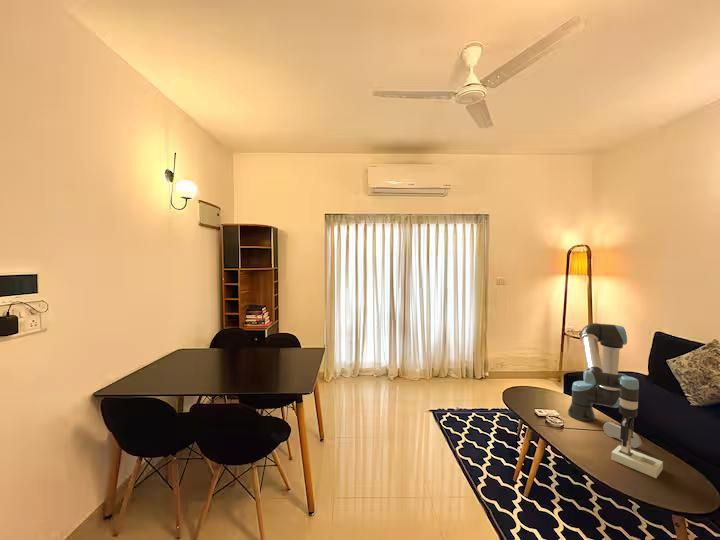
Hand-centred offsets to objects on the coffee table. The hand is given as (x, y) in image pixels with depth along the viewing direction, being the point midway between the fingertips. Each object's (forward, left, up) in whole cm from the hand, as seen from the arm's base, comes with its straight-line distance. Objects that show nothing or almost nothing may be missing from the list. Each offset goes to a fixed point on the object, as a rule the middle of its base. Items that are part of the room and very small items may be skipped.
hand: (625, 450), depth 173 cm
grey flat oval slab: (-21, -7, -5) cm, 23 cm away
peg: (0, 0, -3) cm, 3 cm away
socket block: (0, +5, -5) cm, 7 cm away
